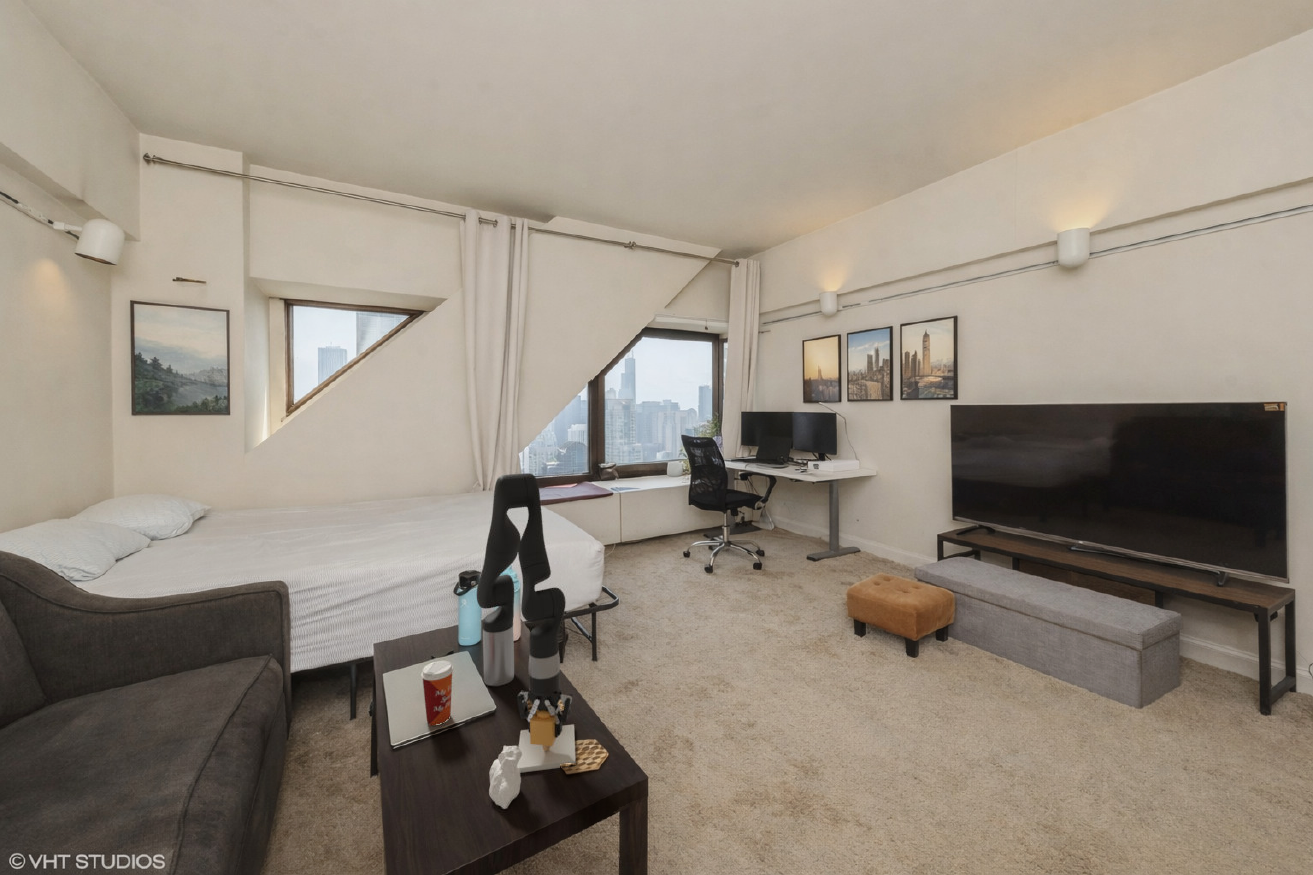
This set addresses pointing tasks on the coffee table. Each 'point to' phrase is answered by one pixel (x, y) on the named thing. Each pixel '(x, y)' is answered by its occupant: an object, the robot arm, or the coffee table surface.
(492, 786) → the bust
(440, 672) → the coffee cup
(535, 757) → the plate
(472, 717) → the coffee table surface
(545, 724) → the domed orange cube
